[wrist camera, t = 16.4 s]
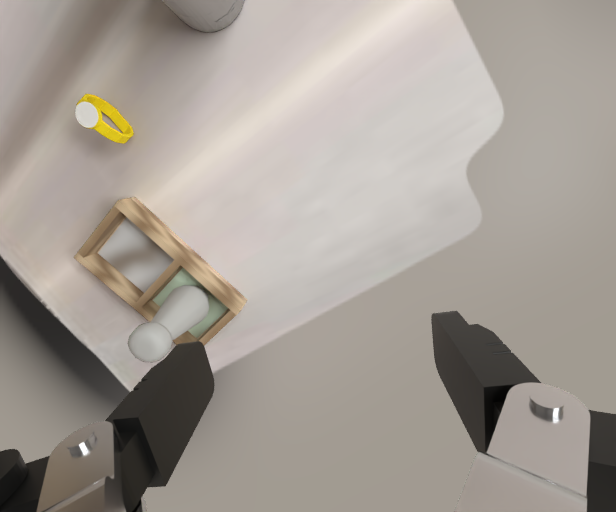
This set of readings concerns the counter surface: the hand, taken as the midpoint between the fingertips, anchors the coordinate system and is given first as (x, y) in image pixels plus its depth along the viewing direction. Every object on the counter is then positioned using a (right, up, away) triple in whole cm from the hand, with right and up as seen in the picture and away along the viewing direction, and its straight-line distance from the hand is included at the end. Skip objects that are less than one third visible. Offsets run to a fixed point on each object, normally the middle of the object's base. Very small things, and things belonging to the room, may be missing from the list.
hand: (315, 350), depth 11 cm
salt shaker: (-17, -3, +35) cm, 39 cm away
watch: (-24, +21, +30) cm, 44 cm away
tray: (-20, 0, +35) cm, 41 cm away
